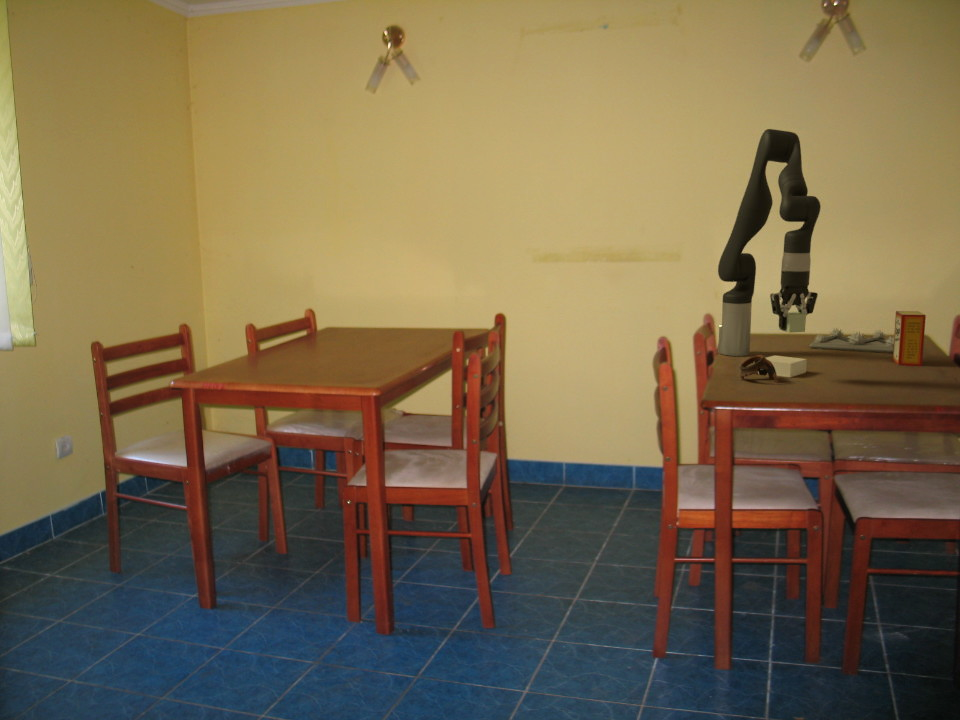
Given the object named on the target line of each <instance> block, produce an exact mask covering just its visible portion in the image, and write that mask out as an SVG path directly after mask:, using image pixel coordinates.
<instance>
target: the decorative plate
mask: <svg viewBox="0 0 960 720" xmlns="http://www.w3.org/2000/svg"><path fill="white" fill-rule="evenodd" d="M866 335H867V334H864V333H861V331H856V333H855V331H854V330H853V332H852V333H851V334H849V336H844V332H842V329H841V328H840V329H838V328H832V330H830V331H829V335H822V334H817V335H816V337H814V340H813V341H812V342H811V343H810V344H809V345H808V347H809V348H810V349H812V348H821V349H820V350H828V349H837V350H836V351H845V350H853V351H852V352H862V351H870V352H869V353H879V352H886V353H885V354H893V347H894V336H891V335H889V337H888V338H886V333H884V331H881V329H879V330H878V331H877V330H875V331H874V333H872V337H866ZM854 350H855V351H854Z"/></svg>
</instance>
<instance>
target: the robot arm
mask: <svg viewBox="0 0 960 720" xmlns="http://www.w3.org/2000/svg"><path fill="white" fill-rule="evenodd" d="M769 162H775V163H781V164H784V163H786V166H784V167H783V169H781V171H780V172H779V176H778V179H777V181H778V182H777V184H778V188H779V192H780V194H781V200H780V203H779V204H780V206H779V216H780V218H781V219H782V220H784V221H785V222H788V223H795V222H796V223H803V224H802V226H800V228H798V229H794V230H790V231H787V232H786V233H785V234H784V240H783V253H782V254H783V255H782V259H781V268H780V269H781V271H780V290H779V292H776V293H774V292H773V293H770V294H769V295H770V296H769V298H770V304H771V309H772V314H773V315H777V316H778V329H779V328H780V329H781V330H786V326H787V317H786V316H787V313H788V312H790V310H791V308H792V306H793V307H794V306H795V308H796V309H797V312H799V313H803V314H806V317H807V316H808V315H809V314H813V313H814V310H815V306H816V304H817V303H816V302H817V299H818V295H819V294H818V292H815V291H809V288H808V287H809V285H810V275H811V262H812V261H811V249H812V248H811V247H812V239H813V238H812V236H813V232H814V229H815V226H816V223H817V221H818V218H819V216H820V213H821V207H822V206H821V202H820V200H819V199H818V198H817V196H815V195H808V193H809V190H808V187H807V183H806V181H805V180H806V179H805V177H804V174H803V163H802V149H801V141H800V138H799V136H798V134H797V133H795V132H793V131H788V130H781V129H775V128H774V129H772V128H767V129H765V130H764V132H763V133H762V134H761V137H760V139H759V142H758V145H757V149H756V153H755V157H754V161H753V165H752V168H751V169H752V170H751V173H750V177H749V179H748V183H747V185H746V188H745V191H744V194H743V196H742V199H741V202H740V205H739V209H738V211H737V216H736V218H735V222H734V224H733V227H732V230H731V232H730V236H729V238H728V240H727V243H726V244H725V247H724V250H723V251H722V254H721V256H720V259H719V262H718V266H717V273H718V274H717V275H718V277H719V280H721V281H723V282H726V283H735V285H734V287H733V288H731V289H730V290H728V291H726V292H724V293H723V295H722V307H721V308H722V309H721V312H722V313H721V324H720V325H718V348H717V350H718V351H717V353H718V354H722V355H724V356H733V357H735V356H736V357H743V356H748V355H749V356H750V353H751V329H752V328H751V327H752V326H751V325H752V303H753V302H752V301H753V296H754V294H755V286H756V285H755V284H756V275H757V267H756V266H757V264H756V260H755V257H754V255H752V254H751V253H749V252H743V251H744V249H745V247H746V246H747V244H748V243H749V242H750V241H751V240H752V239H753V238H754V237H755V236H756V235H757V234H758V233H759V232H760V231H761V230H762V228H763V227H765V225H766V224H767V222H768V219H769V215H770V213H771V210H772V207H773V204H774V203H773V196H772V193H771V190H770V187H769V183H768V181H767V180H768V179H767V175H766V170H767V165H768V163H769ZM780 300H781V302H780ZM781 330H780V331H781Z"/></svg>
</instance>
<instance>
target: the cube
mask: <svg viewBox="0 0 960 720" xmlns="http://www.w3.org/2000/svg"><path fill="white" fill-rule="evenodd" d="M786 317H787V326H786V330H781V329H780V328H779V327H778V331H782V332H786V333H788V334H790V333H805V332H806V325H807V324H806V323H807V316H806V314H803V313H799V312H798V311H788V313H787V316H786Z"/></svg>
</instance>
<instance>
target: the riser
mask: <svg viewBox="0 0 960 720" xmlns="http://www.w3.org/2000/svg"><path fill="white" fill-rule="evenodd" d="M765 358H766V359H767V360H769V361H770V362H771V363H772V364H773V365H774V368H775V371H776V373H777V377H783V378H792V377H796V376H799V375H802V374H805V373H807V358H800V357H790V356H782V355H771V356H768V357H765ZM758 374H759V372H758ZM767 375H768V373H767Z"/></svg>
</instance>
